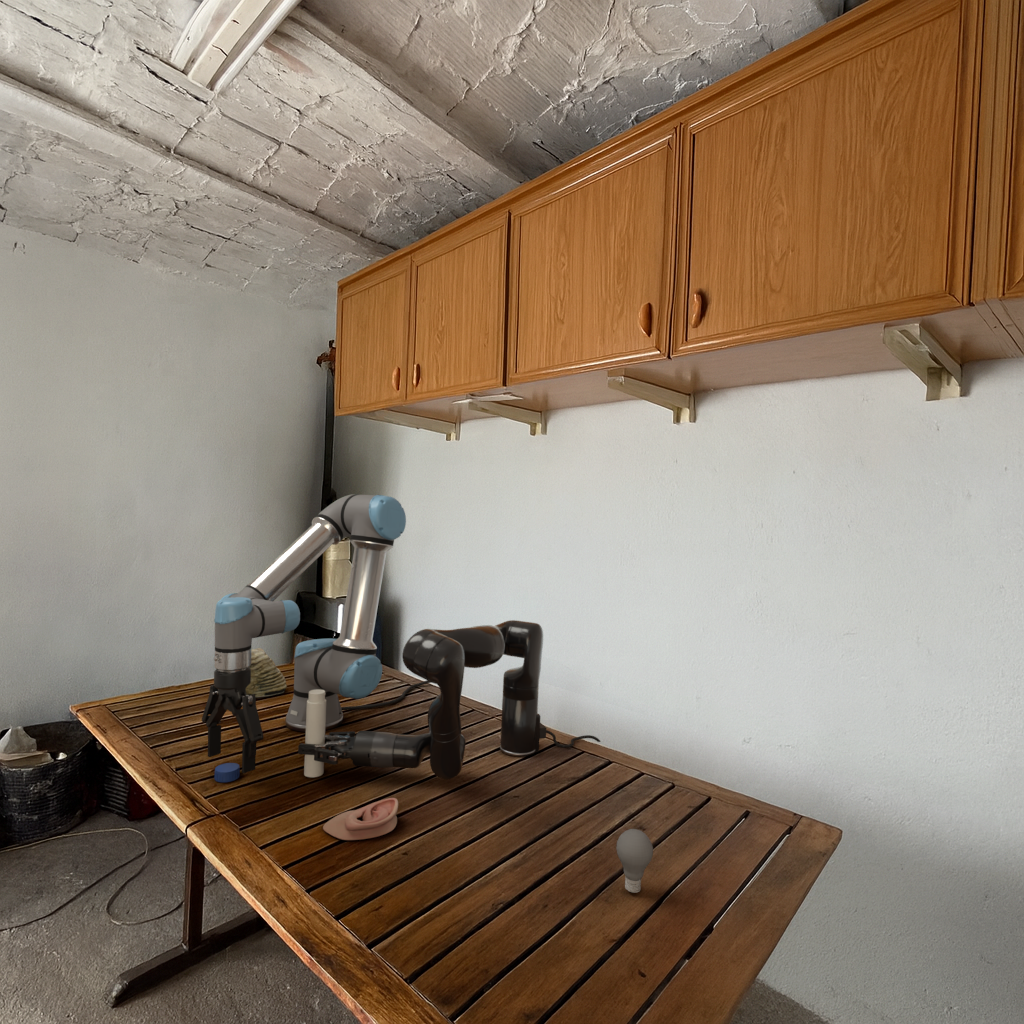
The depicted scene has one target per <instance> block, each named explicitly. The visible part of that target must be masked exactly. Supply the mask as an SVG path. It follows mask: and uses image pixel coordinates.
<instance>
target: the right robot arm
mask: <svg viewBox="0 0 1024 1024" xmlns="http://www.w3.org/2000/svg"><path fill="white" fill-rule="evenodd" d="M543 647H544V630H543V627H542V625H540V624H539V623H538V622H531V621H523V620H517V619H516V620H515V619H512V620H511V619H510V620H506V621H503V622H500V623H497V624H495V625H492V624H483V625H482V624H481V625H475V626H470V627H460V628H453V629H437V628H423V629H421V630H418V631H416V632H415V633H413V634H412V635H411V636H410V637H409V639H408V640H407V641H406V642H405V644H404V647H403V649H402V662H403V664H404V666H405V668H406V669H407V670H408V671H410V672H411V673H412V674H414V675H415V676H417V677H420V678H422V679H423V680H425V681H427V680H428V681H430V682H432V683H431V684H435V685H437V686H438V688H439V691H440V694H438V695H437V696H436V697H435V698H434V699H433V701H431V703H430V705H429V707H428V710H427V726H428V732H426V733H421V734H415V735H414V734H412V735H411V734H398V733H393V732H386V731H370V730H359V731H357V732H356V731H354V730H351V731H349V730H348V731H331V732H329V733H328V734H325V744H317V745H316V744H305V742H304V743H303V742H301V743H299V744H298V746H297V753H298V755H304V756H305V755H314V760H315V761H319V762H324V764H329V765H338V764H339V761H340V760H345V759H350V760H351V761H352V764H353V766H355V767H366V768H379V769H380V768H381V769H385V768H399V769H400V768H401V769H417V768H419V767H420V765H421V764H422V762H423V760H424V759H425V757H426V756H427V755H429V764H430V769H431V771H432V773H433V774H434V776H436V777H437V778H438V779H441V780H444V781H449V780H453V779H455V778H456V777H458V776H459V775H460V773H461V771H462V769H463V764H464V759H465V758H464V757H465V751H466V744H467V743H466V738H465V736H464V735H463V734H462V731H463V730H462V719H461V718H462V717H461V699H462V698H461V697H462V693H463V692H462V691H463V684H464V676H465V668H468V669H469V668H470V669H480V668H483V667H484V668H485V667H488V666H491V665H494V664H497V662H499V661H500V660H501V659H502V657H503V656H508V657H514V658H519V659H520V658H521V659H523V663H522V665H521V666H517V667H513V668H509V669H507V670H505V671H504V673H503V678H502V701H501V703H502V704H501V707H502V708H501V722H500V723H501V725H500V739H499V740H500V742H499V743H500V745H499V751H500V752H502V753H503V754H505V755H508V756H512V757H529V756H532V755H534V754H536V753H539V752H540V740H541V739H547V734H548V735H550V736H551V737H552V740H553V744H554V745H555V746H557V747H558V748H559V747H560V748H565V749H566V748H572V747H573V746H575V742H576V741H580V740H585V739H592V740H594V741H596V742H597V743H602V742H601V740H600V738H598V737H597V736H594V735H588V734H585V735H580V736H576V737H573V738H572V739H570V743H568V744H562V743H559V742H557V737H556V735H555V734H554V732H552V731H550V730H548V729H547V727H546V725H544V724H543V723H541V714H540V713H538V712H539V711H538V710H539V688H540V685H539V684H540V677H541V669H542V657H543ZM322 748H325V749H322Z"/></svg>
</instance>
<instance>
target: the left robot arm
mask: <svg viewBox="0 0 1024 1024" xmlns="http://www.w3.org/2000/svg"><path fill="white" fill-rule="evenodd" d="M406 524H407V516H406V512H405V509H404V507H402V504H401V502H400V501H399V500H397V499H396V498H395V497H393V496H389V495H383V494H359V493H352V494H348V495H344V496H342V497H340V498H338V499H337V500H334V502H332V503H330V504H329V505H328V506H326V507H325V508H324V509H322V510H321V511H320V512H319V513H318V514H317V515H316V516H314V517H313V519H312V520H311V525H310V526H309V527H308V528H307V529H306V530H304V532H303V533H301V534H300V535H299V536H298V537H297V538H296V539H295V540H294V541H293V542H292V543H291V544H290V545H289V546H288V547H287V548H286V549H284V550H283V551H282V552H281V553H280V554H279V555H278V556H277V557H276V558H274V559H273V560H272V561H271V562H270V563H269V564H268V565H267V566H266V567H264V569H263V570H261V571H260V572H259V573H258V574H257V575H256V576H255V577H254V578H252V580H251V581H250V582H249V583H248V584H247V585H245V586H244V587H243V588H242V589H241V590H239V592H233V593H228V594H225V595H224V596H223V597H221V599H219V600H218V601H217V602H216V603H215V610H214V611H215V612H214V620H213V622H214V657H213V661H214V665H213V667H214V669H215V670H214V671H213V684H211V685H210V686H209V693H208V698H207V701H206V704H205V707H204V710H203V713H202V717H201V722H202V723H205V726H206V728H207V757H208V758H212V757H214V756H217V755H220V754H222V725H221V723H222V721H221V720H222V719H223V717H224V715H226V712H227V711H229V712H230V713H231V714H232V716H233V717H235V719H236V721H237V725H238V727H239V729H240V732H241V734H242V737H243V739H244V741H243V742H242V744H241V745H242V753H241V755H242V756H241V773H242V774H247V773H249V772H252V771H254V770H256V756H257V743H258V742H261V741H263V740H264V732H263V728H262V723H261V721H260V716H259V712H258V708H257V701H256V699H257V697H255V694H252V695H247V694H246V687H247V686H248V685H249V684H250V683H251V668H250V667H249V666H250V665H251V649H252V641H253V639H257V638H261V637H269V636H274V635H280V634H285V633H288V632H291V631H294V630H295V629H297V627H299V625H300V621H301V612H300V608H299V606H298V604H297V603H296V602H295V601H294V600H291V599H286V600H284V599H280V600H277V601H275V600H276V599H277V598H278V597H280V596H281V595H282V594H283V593H284V592H285V591H286V590H287V588H289V587H290V586H291V585H292V584H294V582H295V581H296V580H297V579H298V578H299V577H300V576H301V575H302V574H303V573H304V572H305V571H306V570H307V569H308V568H309V567H311V565H312V564H314V563H315V561H317V560H318V559H319V557H321V556H322V555H323V554H324V553H325V552H326V551H327V550H328V549H329V548H330V547H331V546H332V545H333V546H335V545H339V543H340V542H341V541H342V540H344V539H345V538H347V537H349V538H350V539H349V541H350V543H351V544H352V546H353V548H354V550H353V555H352V562H351V566H350V567H351V568H350V574H349V579H348V586H347V592H346V598H345V604H344V608H343V609H344V611H343V614H342V621H341V626H340V627H341V628H340V634H339V636H338V638H331V637H329V638H317V639H316V638H315V639H308V640H304V641H300V642H299V643H298V644H297V645H296V646H295V650H294V651H295V652H294V655H293V658H294V670H293V671H294V672H293V695H292V696H293V697H292V699H291V702H290V704H289V708H288V711H287V713H286V715H285V726H286V728H287V729H289V730H291V731H294V732H295V731H296V732H301V733H306V709H307V700H308V699H309V691H311V690H316V689H320V690H324V691H325V699H326V723H325V731H329V730H332V729H335V728H337V727H339V726H340V725H342V723H343V722H344V714H343V711H353V710H364V709H373V708H374V709H375V708H380V707H385V706H389V705H392V704H396V703H398V702H400V701H401V700H403V699H404V698H405V696H406V695H407V694H408V693H409V692H410V691H411V690H412V689H415V688H418V687H420V686H424V685H428V684H430V683H431V684H433V683H432V682H430V681H428V680H424V681H420V682H418V683H414V684H411V685H409V686H408V687H407V688H406V689H405V690H404V691H403V692H402V693H401V695H400V696H399V697H397V698H395V699H392V700H388V701H384V702H380V703H379V702H378V703H374V704H372V703H371V704H363V705H352V706H341V702H340V699H339V695H340V696H342V697H345V698H347V699H354V700H359V699H365V698H367V697H368V696H369V695H371V694H372V692H373V691H374V690H376V688H377V687H378V685H379V683H380V681H381V680H382V676H383V664H382V663H381V660H380V659H379V658H378V657H377V649H378V647H377V645H376V643H375V642H374V641H373V638H374V632H375V627H376V620H377V613H378V606H379V601H380V596H381V595H380V594H381V589H382V583H383V577H384V571H385V565H386V564H385V563H386V558H387V553H388V552H389V551H390V550H392V549H393V548H394V543H395V540H397V539H398V538H400V537H401V536H402V534H403V533H404V531H405V529H406Z"/></svg>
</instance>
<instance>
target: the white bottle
mask: <svg viewBox="0 0 1024 1024" xmlns="http://www.w3.org/2000/svg"><path fill="white" fill-rule="evenodd" d="M325 723H326V699H325V691H324V690H320V689H316V690H311V691H309V699H308V700H307V709H306V732H305V739H304V744H316V745H317V744H325V735H326V730H325ZM322 749H325V748H322ZM303 762H304V763H303V765H304V766H303V775H304V776H305V777H307V778H318V777H321V776H323V774H324V772H325V763H324V762H319V761H315V760H314V755H304V761H303Z"/></svg>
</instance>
